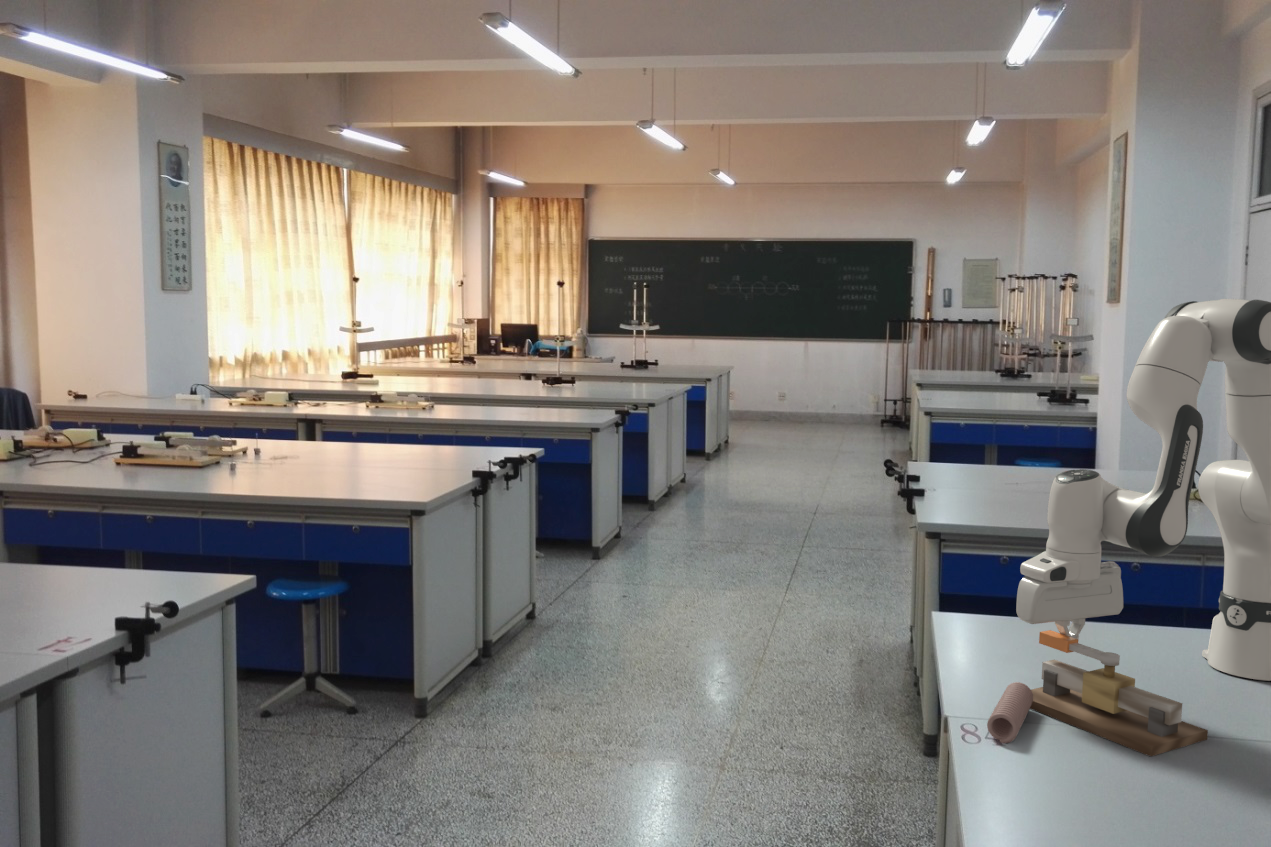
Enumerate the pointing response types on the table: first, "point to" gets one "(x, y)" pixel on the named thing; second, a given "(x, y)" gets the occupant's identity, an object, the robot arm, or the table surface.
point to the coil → (1010, 712)
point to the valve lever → (1076, 647)
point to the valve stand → (1113, 708)
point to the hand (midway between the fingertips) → (1068, 643)
